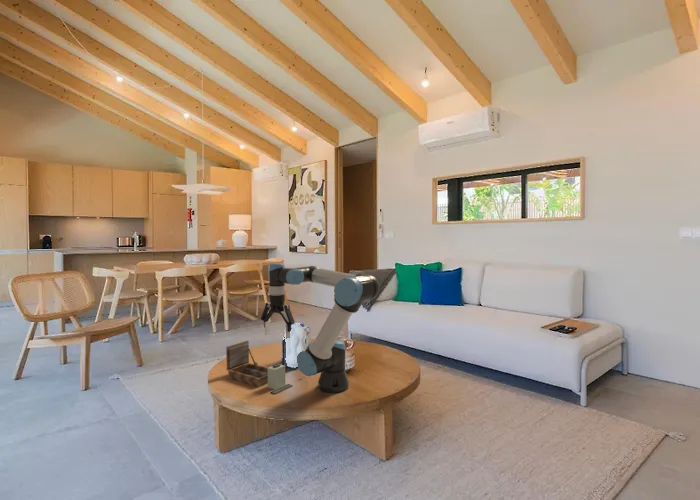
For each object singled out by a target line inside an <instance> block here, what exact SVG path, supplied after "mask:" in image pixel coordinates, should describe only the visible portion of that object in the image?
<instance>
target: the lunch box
mask: <svg viewBox="0 0 700 500" xmlns="http://www.w3.org/2000/svg"><path fill="white" fill-rule="evenodd" d="M299 324H300V325H301V326H302V327H303V329H304V332H305V335H306V339H305V342H304V350H306V349H307V347H308V345H309V343H310V342H311V328H310V326H309V325H305V324H304V323H299ZM283 337H284V335H283V336H282V338H283ZM284 338H285V337H284ZM281 345H282V346H281V347H282V349H281V350H282V351H281V352H282V353H281V365H284V366H285V368H288V366H287V363H286V360H285V358H286V342H285V339H284V340H283V339H282V341H281ZM288 369H289V368H288Z"/></svg>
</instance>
